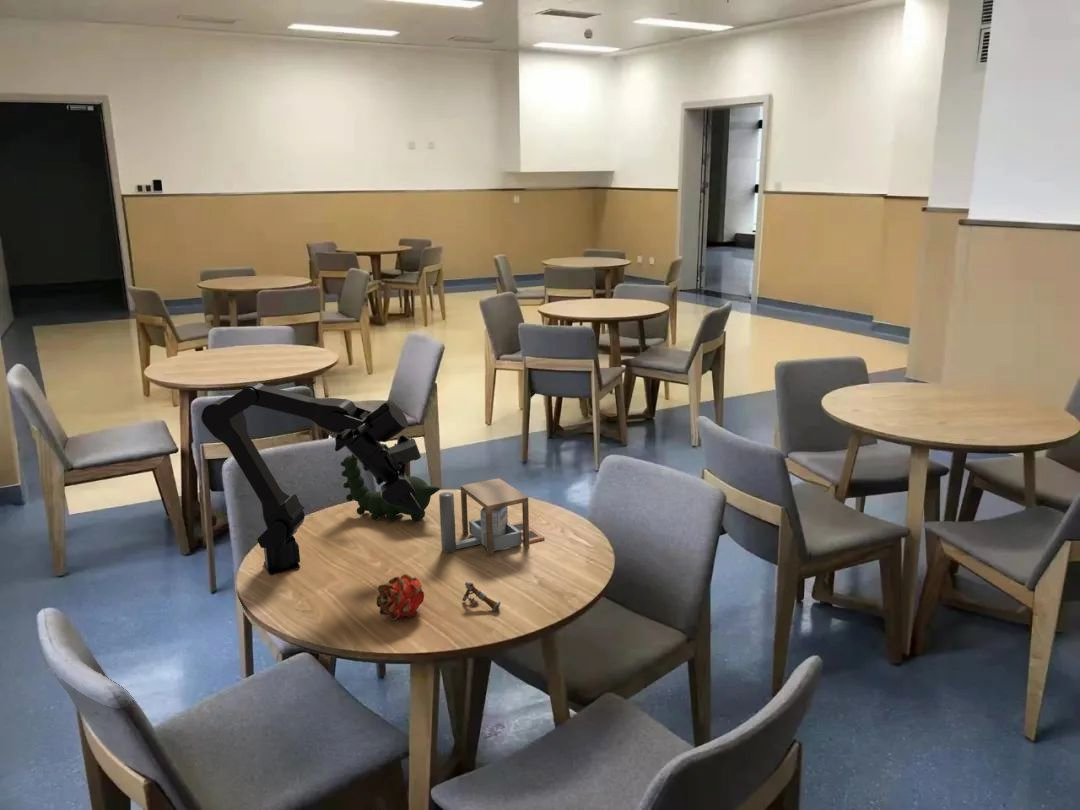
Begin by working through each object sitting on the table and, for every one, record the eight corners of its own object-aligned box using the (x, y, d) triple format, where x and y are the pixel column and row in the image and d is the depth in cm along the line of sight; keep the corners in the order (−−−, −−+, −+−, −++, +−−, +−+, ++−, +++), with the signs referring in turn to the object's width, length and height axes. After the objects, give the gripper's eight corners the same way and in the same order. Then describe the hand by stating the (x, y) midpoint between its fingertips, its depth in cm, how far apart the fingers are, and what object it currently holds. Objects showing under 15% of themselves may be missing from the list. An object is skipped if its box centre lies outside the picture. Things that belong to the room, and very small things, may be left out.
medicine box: (500, 547, 185) (499, 511, 182) (481, 545, 185) (480, 510, 183) (508, 533, 192) (507, 498, 190) (490, 531, 193) (489, 497, 191)
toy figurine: (343, 527, 202) (436, 528, 195) (331, 454, 198) (425, 452, 190) (361, 513, 211) (451, 513, 203) (350, 442, 206) (441, 440, 199)
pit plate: (525, 544, 186) (525, 541, 186) (504, 527, 196) (504, 525, 196) (544, 539, 189) (544, 536, 189) (522, 523, 198) (522, 520, 198)
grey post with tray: (452, 560, 178) (450, 504, 174) (432, 541, 188) (429, 488, 185) (521, 544, 185) (520, 490, 182) (498, 526, 196) (497, 475, 192)
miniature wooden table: (489, 556, 180) (487, 505, 177) (462, 533, 193) (460, 485, 190) (529, 547, 185) (528, 497, 182) (500, 524, 197) (499, 478, 194)
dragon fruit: (383, 638, 151) (411, 615, 162) (418, 617, 148) (443, 595, 160) (359, 599, 151) (388, 579, 163) (393, 577, 149) (420, 558, 160)
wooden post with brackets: (462, 595, 162) (469, 577, 160) (494, 618, 159) (501, 601, 157) (457, 598, 160) (464, 581, 158) (489, 622, 158) (496, 605, 156)
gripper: (404, 441, 161) (453, 496, 167) (396, 414, 178) (440, 464, 184) (360, 477, 161) (410, 530, 166) (356, 446, 178) (401, 496, 184)
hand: (417, 503), depth 175 cm, fingers open, 9 cm apart
